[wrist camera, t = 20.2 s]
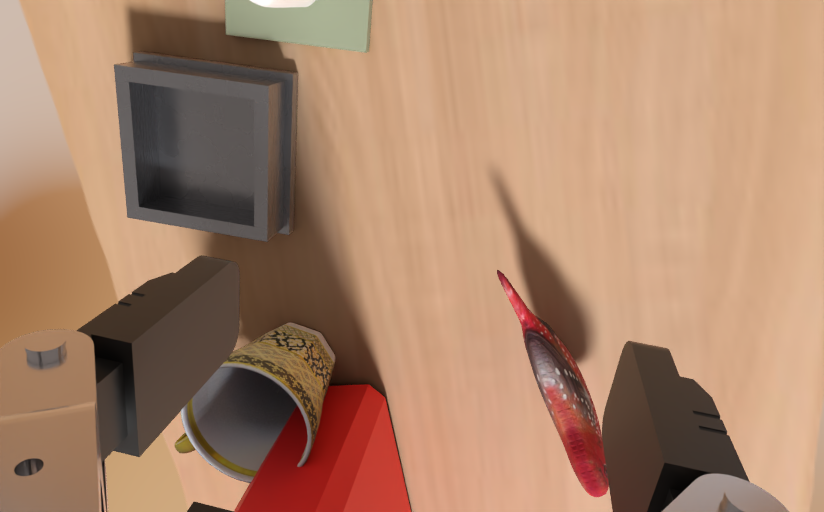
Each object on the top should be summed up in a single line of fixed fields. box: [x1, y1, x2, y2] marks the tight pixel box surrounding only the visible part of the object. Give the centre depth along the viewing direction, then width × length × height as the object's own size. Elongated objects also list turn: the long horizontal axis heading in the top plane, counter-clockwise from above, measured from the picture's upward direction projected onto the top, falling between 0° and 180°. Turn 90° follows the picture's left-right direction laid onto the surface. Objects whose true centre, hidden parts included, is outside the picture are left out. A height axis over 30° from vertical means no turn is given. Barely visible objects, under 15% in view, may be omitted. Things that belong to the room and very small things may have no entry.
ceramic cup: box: [175, 322, 335, 483], centre depth 48 cm, size 13×10×10 cm
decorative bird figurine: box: [497, 270, 609, 497], centre depth 43 cm, size 3×18×10 cm, turn 28°
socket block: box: [114, 51, 298, 242], centre depth 45 cm, size 12×12×4 cm
